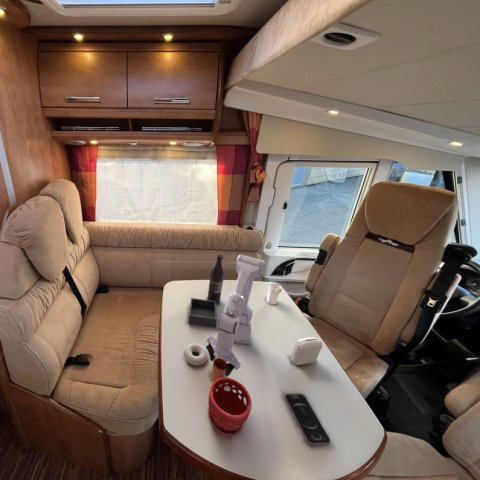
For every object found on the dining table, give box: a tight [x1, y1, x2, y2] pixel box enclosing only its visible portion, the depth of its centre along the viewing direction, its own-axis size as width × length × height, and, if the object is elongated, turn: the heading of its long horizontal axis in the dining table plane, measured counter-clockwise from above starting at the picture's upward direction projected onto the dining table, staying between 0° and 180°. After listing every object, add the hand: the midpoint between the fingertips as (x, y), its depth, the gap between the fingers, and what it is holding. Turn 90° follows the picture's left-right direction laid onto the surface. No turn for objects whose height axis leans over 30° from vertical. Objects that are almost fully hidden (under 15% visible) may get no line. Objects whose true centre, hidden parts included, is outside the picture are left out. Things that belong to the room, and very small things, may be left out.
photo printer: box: [290, 337, 323, 366], centre depth 97 cm, size 10×4×12 cm, turn 100°
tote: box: [187, 297, 218, 329], centre depth 122 cm, size 14×14×5 cm
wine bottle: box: [206, 254, 225, 306], centre depth 127 cm, size 7×7×30 cm
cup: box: [266, 281, 283, 305], centre depth 132 cm, size 7×7×11 cm
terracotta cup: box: [210, 358, 228, 382], centre depth 91 cm, size 5×5×8 cm
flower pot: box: [207, 376, 253, 437], centre depth 77 cm, size 13×13×12 cm
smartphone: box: [284, 393, 331, 446], centre depth 80 cm, size 8×1×15 cm
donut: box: [183, 343, 209, 366], centre depth 100 cm, size 10×4×10 cm
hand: (219, 366), depth 90 cm, fingers open, 7 cm apart
